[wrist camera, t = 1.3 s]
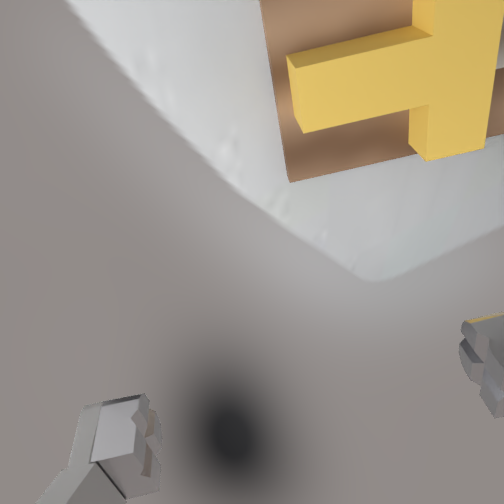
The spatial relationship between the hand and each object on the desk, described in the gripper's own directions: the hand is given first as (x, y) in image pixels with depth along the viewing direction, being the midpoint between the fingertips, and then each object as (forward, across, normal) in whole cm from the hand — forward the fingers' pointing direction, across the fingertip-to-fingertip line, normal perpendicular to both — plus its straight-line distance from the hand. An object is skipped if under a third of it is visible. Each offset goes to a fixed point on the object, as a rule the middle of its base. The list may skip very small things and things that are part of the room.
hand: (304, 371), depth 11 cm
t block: (+22, -10, 0) cm, 24 cm away
